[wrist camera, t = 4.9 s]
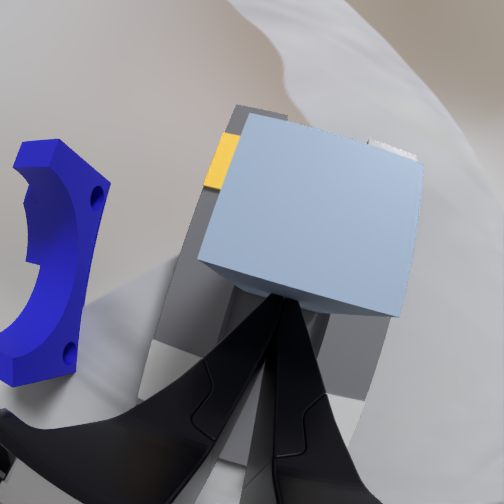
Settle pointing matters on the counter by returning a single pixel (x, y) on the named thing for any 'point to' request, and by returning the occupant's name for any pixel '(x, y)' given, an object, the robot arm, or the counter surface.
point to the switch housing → (241, 305)
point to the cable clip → (53, 260)
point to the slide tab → (316, 219)
